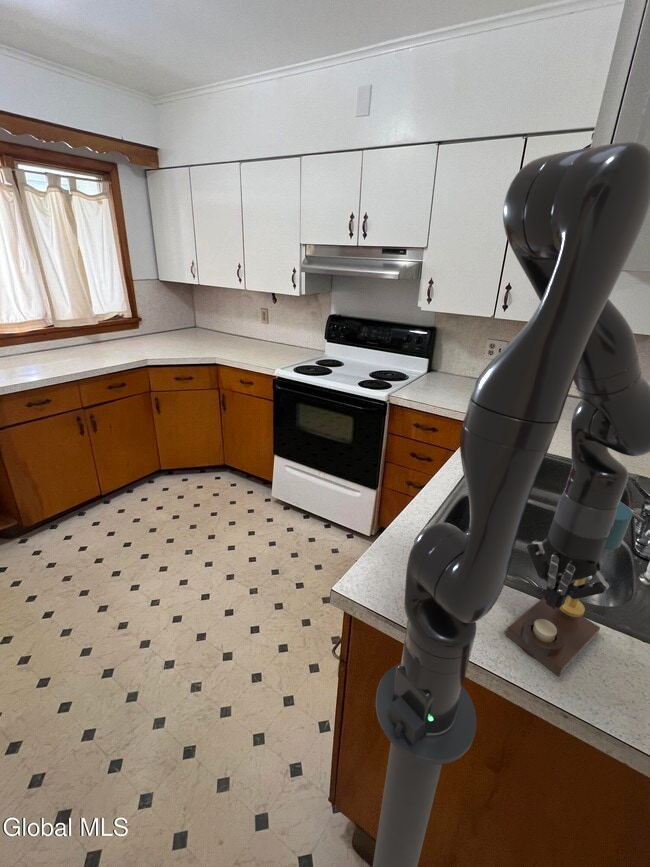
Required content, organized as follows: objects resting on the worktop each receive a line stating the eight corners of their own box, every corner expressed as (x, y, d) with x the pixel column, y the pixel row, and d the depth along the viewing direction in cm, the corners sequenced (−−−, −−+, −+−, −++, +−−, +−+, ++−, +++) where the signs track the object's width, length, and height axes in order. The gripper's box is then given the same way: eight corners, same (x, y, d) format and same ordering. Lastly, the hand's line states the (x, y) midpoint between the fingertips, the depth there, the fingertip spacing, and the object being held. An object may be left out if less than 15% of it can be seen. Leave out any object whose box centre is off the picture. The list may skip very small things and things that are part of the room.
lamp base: (556, 679, 71) (562, 663, 70) (503, 637, 79) (507, 622, 77) (596, 635, 79) (603, 620, 78) (545, 601, 87) (550, 586, 85)
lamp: (580, 629, 76) (621, 525, 66) (542, 604, 81) (575, 503, 71) (598, 611, 80) (640, 510, 70) (561, 588, 85) (595, 490, 75)
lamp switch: (547, 646, 73) (550, 639, 72) (528, 632, 76) (530, 625, 75) (558, 636, 75) (561, 629, 74) (539, 622, 78) (541, 615, 77)
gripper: (527, 508, 67) (505, 589, 75) (618, 555, 58) (582, 643, 65) (552, 493, 72) (528, 572, 79) (640, 535, 62) (604, 620, 69)
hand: (552, 604), depth 72 cm, fingers closed
